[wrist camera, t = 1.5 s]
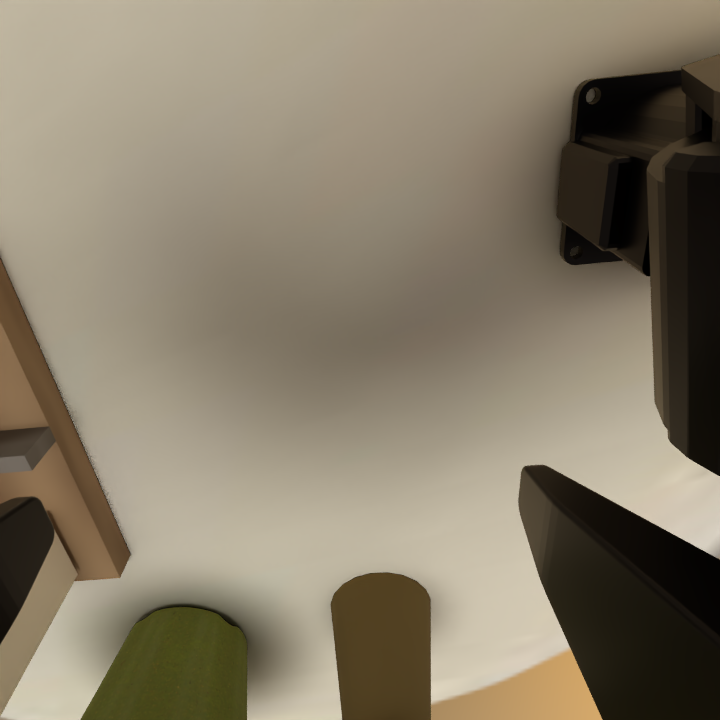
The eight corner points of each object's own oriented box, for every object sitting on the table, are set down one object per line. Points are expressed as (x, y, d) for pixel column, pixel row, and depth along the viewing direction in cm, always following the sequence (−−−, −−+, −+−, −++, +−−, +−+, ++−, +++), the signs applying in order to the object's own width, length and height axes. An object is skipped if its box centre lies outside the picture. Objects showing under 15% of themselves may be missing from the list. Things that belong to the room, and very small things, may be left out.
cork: (319, 581, 30) (304, 817, 21) (422, 565, 30) (455, 800, 20) (343, 643, 33) (339, 877, 24) (437, 630, 33) (473, 863, 23)
